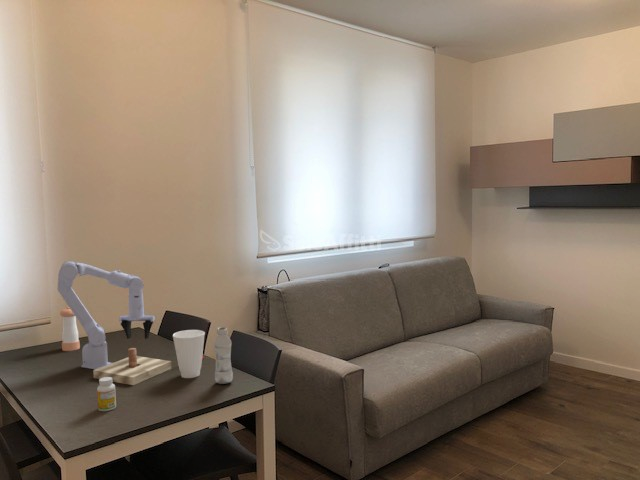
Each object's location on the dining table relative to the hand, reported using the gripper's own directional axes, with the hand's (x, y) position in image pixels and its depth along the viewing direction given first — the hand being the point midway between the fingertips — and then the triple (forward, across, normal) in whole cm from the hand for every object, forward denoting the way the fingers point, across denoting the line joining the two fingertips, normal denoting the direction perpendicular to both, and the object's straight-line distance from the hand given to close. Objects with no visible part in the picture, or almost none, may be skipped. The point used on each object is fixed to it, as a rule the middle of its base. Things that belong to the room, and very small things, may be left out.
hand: (137, 338), depth 222 cm
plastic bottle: (+10, +43, -24) cm, 51 cm away
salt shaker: (+10, -39, +15) cm, 43 cm away
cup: (+10, +28, -17) cm, 34 cm away
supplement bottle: (+10, +12, -49) cm, 51 cm away
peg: (+9, +5, -16) cm, 19 cm away
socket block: (+9, +5, -16) cm, 19 cm away
